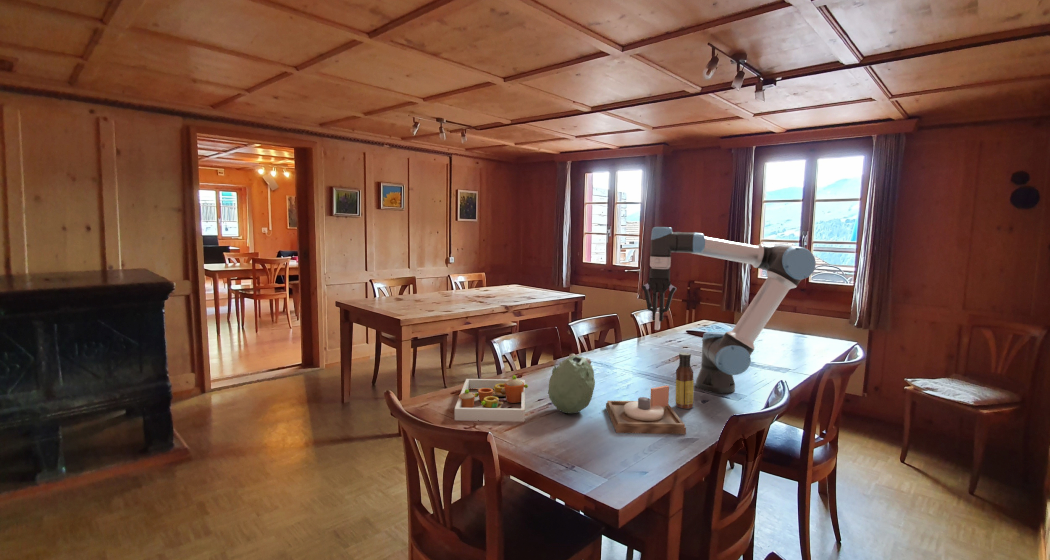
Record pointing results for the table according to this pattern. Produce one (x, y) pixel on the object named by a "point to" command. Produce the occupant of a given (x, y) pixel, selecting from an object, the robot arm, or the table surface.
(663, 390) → the dial
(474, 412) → the tea tray rim
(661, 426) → the brown wooden tray
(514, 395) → the toy tea set
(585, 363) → the green monster figurine
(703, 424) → the table surface
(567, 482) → the table surface
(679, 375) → the sauce bottle
